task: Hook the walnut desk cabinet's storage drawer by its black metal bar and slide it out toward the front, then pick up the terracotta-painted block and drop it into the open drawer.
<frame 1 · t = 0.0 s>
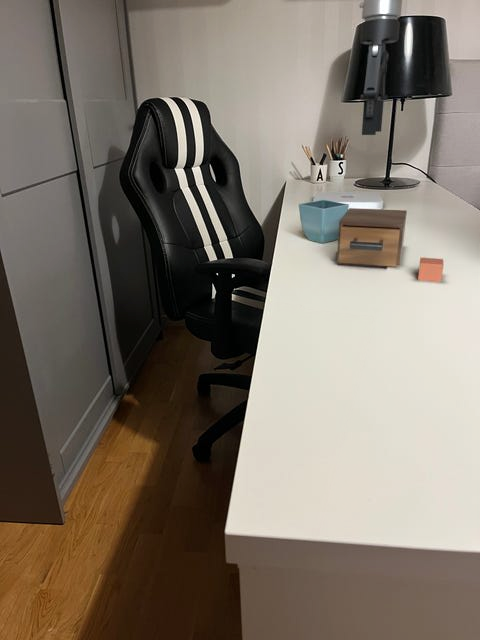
hand: (371, 133, 109), 25 cm above the table, tool pointing down, fingers open, 13 cm apart
flower pot: (322, 241, 124), on the table
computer: (346, 205, 168), on the table
drawer: (370, 242, 103), point 5 cm above the table, slide at 0.5 cm
block: (428, 281, 94), on the table
cabinet: (370, 257, 109), on the table
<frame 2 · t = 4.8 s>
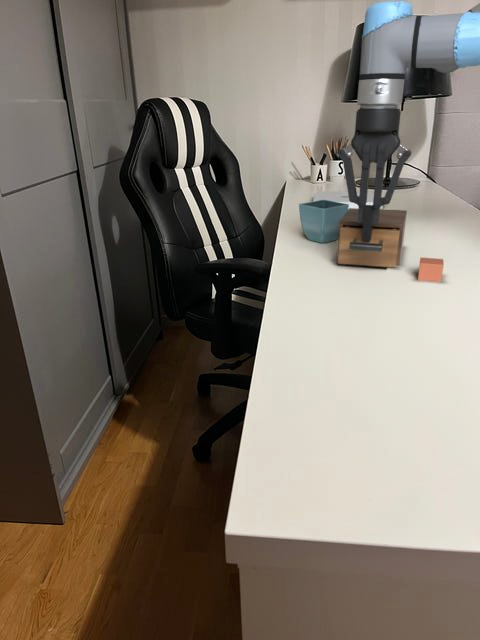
hand: (366, 240, 96), 7 cm above the table, tool pointing down, fingers closed
drawer: (370, 242, 103), point 5 cm above the table, slide at 1.1 cm, touching gripper
everything else where it was.
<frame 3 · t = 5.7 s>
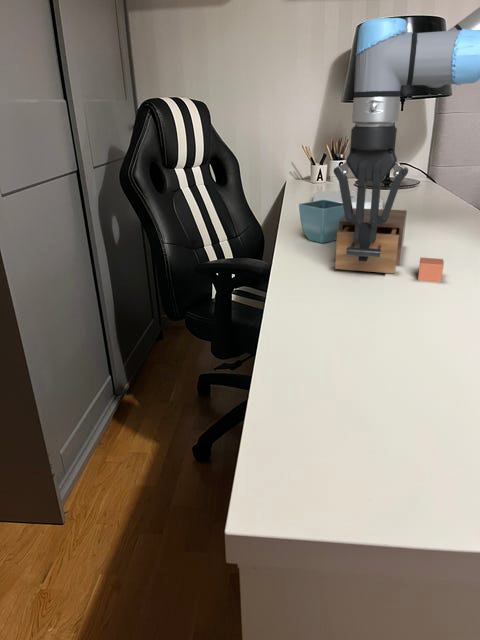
hand: (363, 259, 94), 4 cm above the table, tool pointing down, fingers closed
drawer: (367, 247, 99), point 5 cm above the table, slide at 5.0 cm, touching gripper
everything else where it was.
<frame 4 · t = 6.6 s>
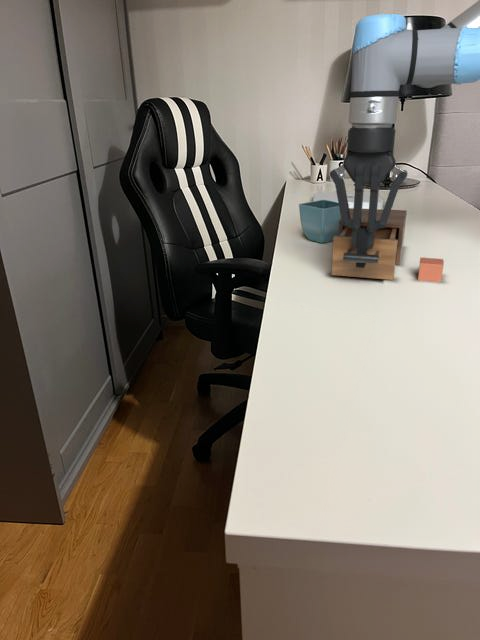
hand: (361, 265, 91), 4 cm above the table, tool pointing down, fingers closed
drawer: (365, 252, 96), point 5 cm above the table, slide at 9.1 cm, touching gripper
everything else where it was.
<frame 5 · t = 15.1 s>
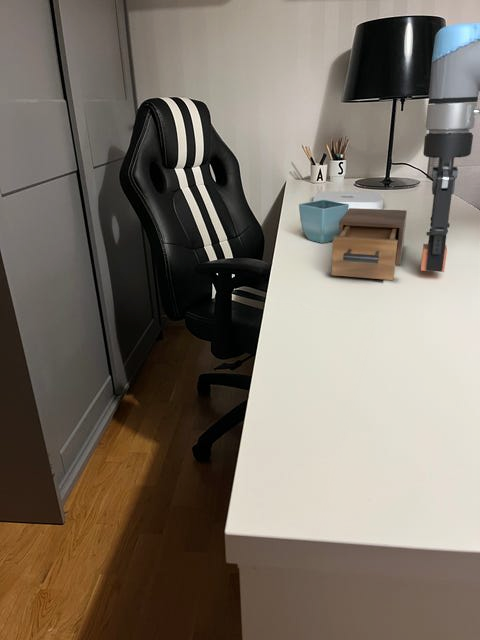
hand: (434, 266, 92), 3 cm above the table, tool pointing down, fingers closed on block, 4 cm apart
drawer: (365, 253, 96), point 5 cm above the table, slide at 9.2 cm
block: (432, 268, 93), point 3 cm above the table, touching gripper
everything else where it was.
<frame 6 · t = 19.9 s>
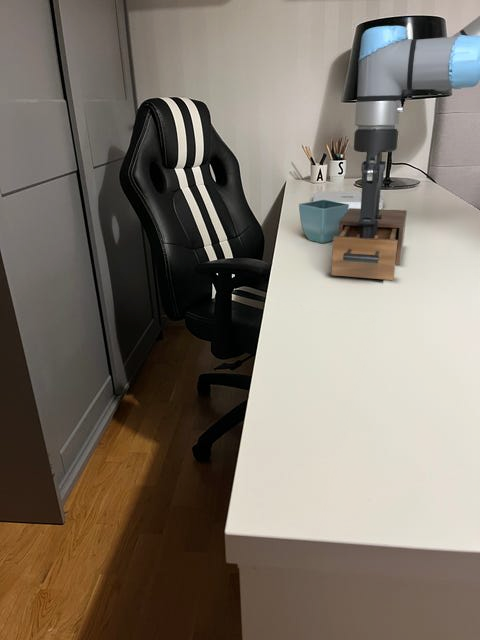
hand: (366, 255, 98), 4 cm above the table, tool pointing down, fingers closed on block, 4 cm apart
block: (365, 257, 98), point 3 cm above the table, touching gripper
everything else where it was.
when the fingers open (5 cm above the table, at t = 25.5 s): block drops 3 cm, resting on drawer.
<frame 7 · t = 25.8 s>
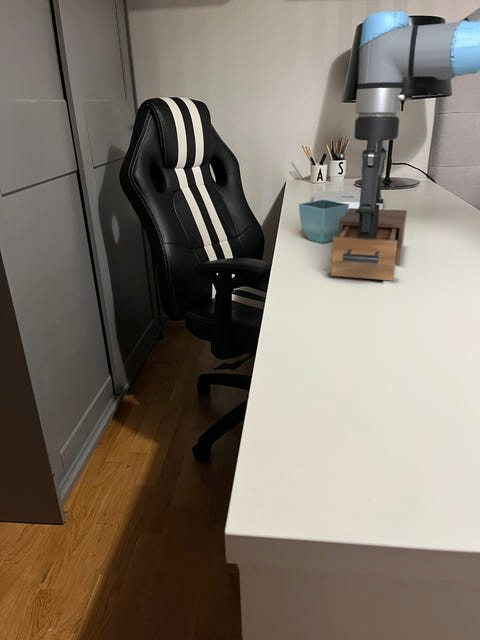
hand: (367, 242, 97), 6 cm above the table, tool pointing down, fingers open, 8 cm apart
drawer: (365, 253, 96), point 5 cm above the table, slide at 9.5 cm, touching block, gripper
block: (364, 263, 98), point 2 cm above the table, touching drawer
everything else where it was.
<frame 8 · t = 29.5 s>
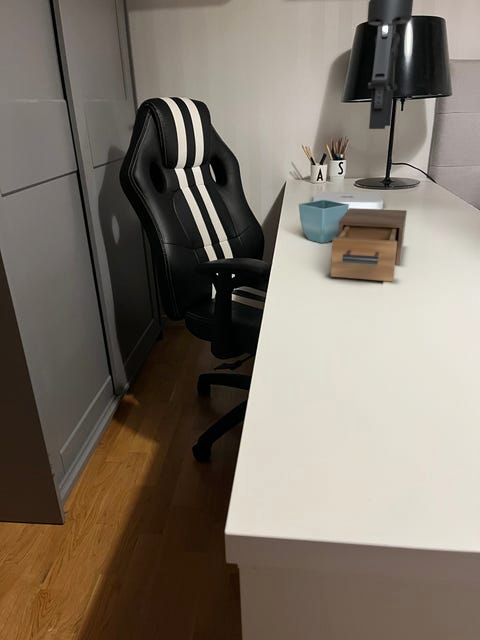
hand: (380, 127, 96), 27 cm above the table, tool pointing down, fingers open, 13 cm apart
drawer: (365, 254, 95), point 5 cm above the table, slide at 10.0 cm, touching block
everything else where it was.
at the end: drawer slide at 10.0 cm; block inside the target area in the drawer (1.3 cm from its centre), point 2.0 cm above the cabinet's base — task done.
